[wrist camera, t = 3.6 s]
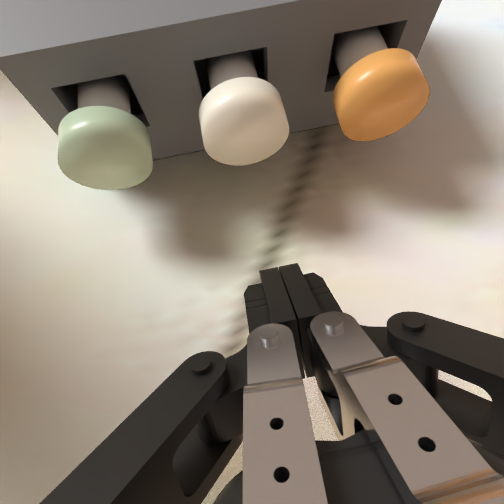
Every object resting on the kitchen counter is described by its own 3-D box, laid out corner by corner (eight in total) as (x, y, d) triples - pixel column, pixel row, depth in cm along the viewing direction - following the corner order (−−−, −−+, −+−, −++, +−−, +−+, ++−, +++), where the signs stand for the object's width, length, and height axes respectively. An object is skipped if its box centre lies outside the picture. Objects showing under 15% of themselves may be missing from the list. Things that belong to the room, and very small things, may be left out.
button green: (86, 196, 18) (37, 146, 14) (84, 121, 20) (40, 59, 16) (163, 181, 18) (134, 127, 14) (155, 107, 20) (127, 43, 16)
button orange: (334, 147, 18) (351, 85, 14) (311, 77, 20) (320, 6, 16) (410, 132, 18) (445, 67, 14) (380, 64, 20) (405, -10, 16)
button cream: (211, 171, 18) (195, 115, 14) (198, 99, 20) (181, 32, 16) (287, 156, 18) (291, 97, 14) (268, 86, 20) (266, 16, 16)
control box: (89, 172, 21) (-9, 58, 14) (86, 55, 25) (6, -85, 17) (392, 113, 22) (454, -30, 14) (346, 6, 25) (376, -153, 18)
